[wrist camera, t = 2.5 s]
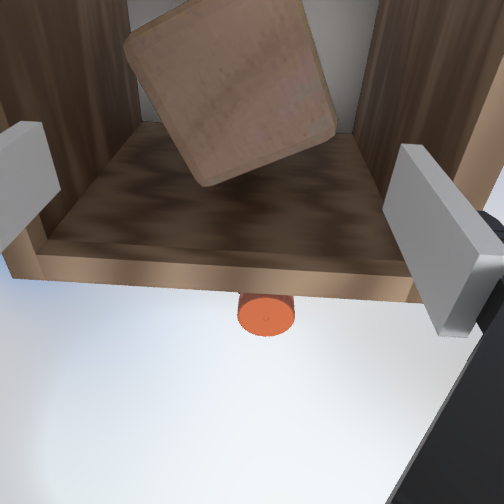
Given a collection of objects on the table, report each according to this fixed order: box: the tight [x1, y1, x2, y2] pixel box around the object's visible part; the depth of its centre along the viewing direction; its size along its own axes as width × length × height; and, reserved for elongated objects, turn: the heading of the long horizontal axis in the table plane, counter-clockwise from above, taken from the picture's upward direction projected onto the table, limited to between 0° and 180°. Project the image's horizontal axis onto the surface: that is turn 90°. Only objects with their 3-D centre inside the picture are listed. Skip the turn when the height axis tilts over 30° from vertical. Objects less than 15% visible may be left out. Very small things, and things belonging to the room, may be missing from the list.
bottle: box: [237, 292, 295, 336], centre depth 41 cm, size 7×7×20 cm
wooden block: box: [123, 0, 338, 187], centre depth 30 cm, size 10×10×20 cm
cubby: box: [0, 0, 504, 304], centre depth 28 cm, size 26×20×26 cm
